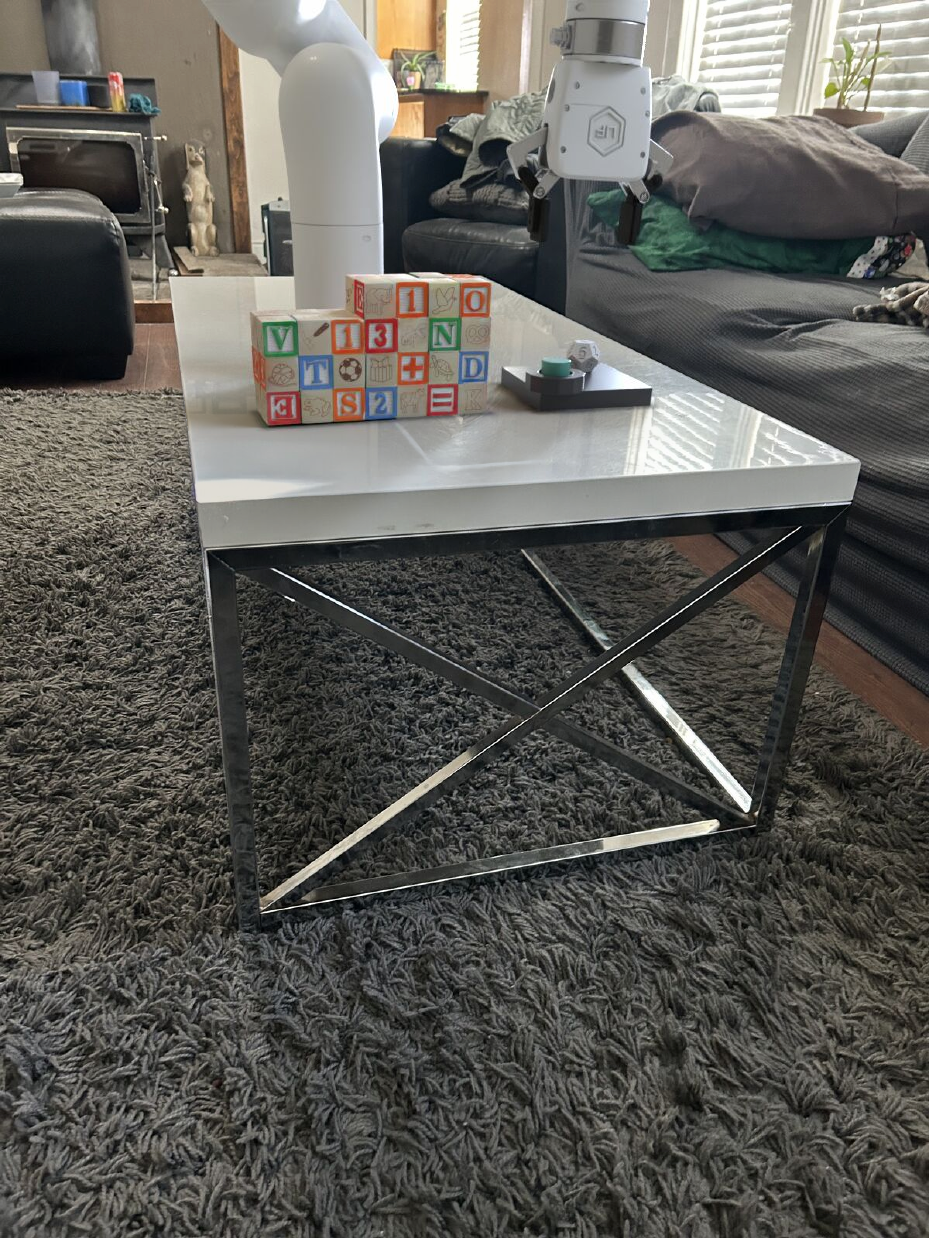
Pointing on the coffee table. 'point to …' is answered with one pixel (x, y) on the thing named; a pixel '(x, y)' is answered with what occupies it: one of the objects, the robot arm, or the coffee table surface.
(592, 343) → the game die
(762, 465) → the coffee table surface
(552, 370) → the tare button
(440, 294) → the stack of blocks
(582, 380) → the dark grey flat block
